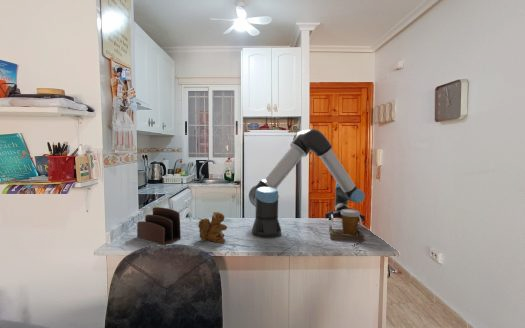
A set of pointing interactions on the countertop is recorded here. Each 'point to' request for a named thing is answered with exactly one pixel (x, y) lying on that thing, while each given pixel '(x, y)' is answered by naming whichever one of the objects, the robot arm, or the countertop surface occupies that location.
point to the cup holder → (345, 235)
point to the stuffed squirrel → (212, 228)
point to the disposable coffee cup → (350, 221)
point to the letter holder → (160, 226)
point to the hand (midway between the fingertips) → (346, 221)
